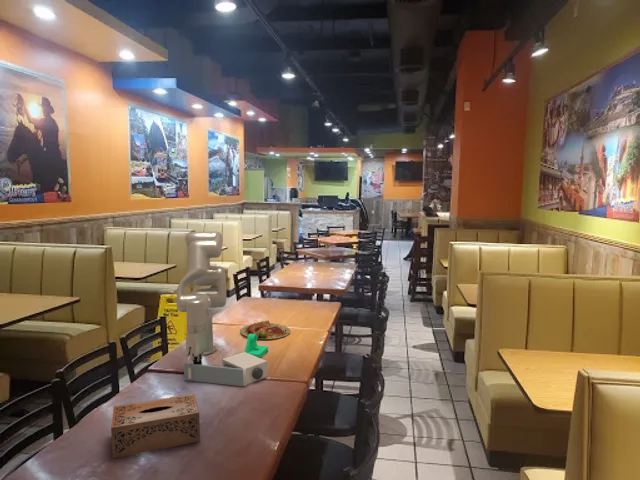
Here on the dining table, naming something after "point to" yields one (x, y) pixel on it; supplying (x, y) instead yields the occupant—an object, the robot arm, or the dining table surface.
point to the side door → (215, 374)
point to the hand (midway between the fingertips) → (197, 369)
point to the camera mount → (255, 346)
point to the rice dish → (265, 330)
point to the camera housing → (247, 366)
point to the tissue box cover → (154, 425)
